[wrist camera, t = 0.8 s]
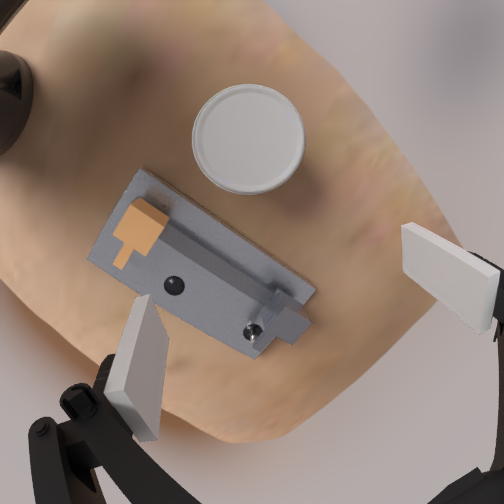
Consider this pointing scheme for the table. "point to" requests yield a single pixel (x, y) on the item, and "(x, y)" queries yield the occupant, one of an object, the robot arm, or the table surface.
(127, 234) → the block
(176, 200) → the plate
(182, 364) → the table surface
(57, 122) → the table surface
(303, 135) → the coffee cup
